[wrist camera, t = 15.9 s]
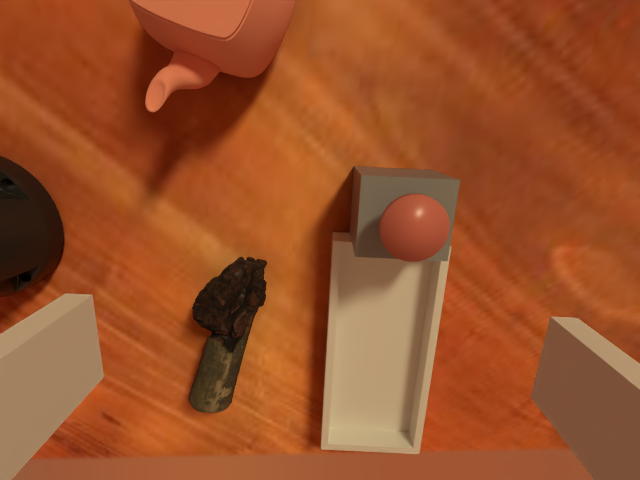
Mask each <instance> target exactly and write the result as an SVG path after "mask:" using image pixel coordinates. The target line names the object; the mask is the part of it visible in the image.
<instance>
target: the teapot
mask: <svg viewBox="0 0 640 480" xmlns="http://www.w3.org/2000/svg"><path fill="white" fill-rule="evenodd" d="M129 1H130V4H131V6H132V8H133V11H134V13H135V15H136V17H137V19H138V20H139V22H140V24H141V25H142V26H143V28H144V29H145V30H146V32H147V33H148V34H149V35H150V36H151V37H152V38H153V39H155V40H156V41H157V42H158V43H160V44H161V45H162V46H164V47H165V48H167V49H169V50H171V51H173V52H174V54H173V56H172V59H171V61H170V63H169V64H168V66H167V67H165V68H163V69H161V70H160V71H159V72H158V73H157V74H156V75H155V77H154V78H153V80H152V81H151V83H150V85H149V87H148V90H147V93H146V99H145V105H146V108H147V110H148V111H149V112H156V111H157V110H159V109H160V108H161V107H162V105H163V104H164V103H165V101H166V100H167V98H168V97H169V96H170V94H171V93H173V92H174V91H176V90H179V89H199V88H202V87H205V86H207V85H208V84H210V83H211V82H212V80H213V79H214V78H215V77H216V76H217V75H218V73H219V72H223V73H226V74H230V75H234V76H238V77H242V78H252V77H256V76H258V75H259V74H261V73H262V72H263V71H264V70H265V69H266V68H267V67H268V65H269V64H270V62H271V61H272V59H273V57H274V56H275V54H276V52H277V50H278V48H279V46H280V44H281V42H282V40H283V38H284V36H285V33H286V31H287V28H288V26H289V23H290V20H291V17H292V14H293V10H294V6H295V2H296V0H129Z"/></svg>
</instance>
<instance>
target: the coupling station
mask: <svg viewBox="0 0 640 480" xmlns="http://www.w3.org/2000/svg"><path fill="white" fill-rule="evenodd" d="M459 184H460V180H459V179H456V178H453V177H450V176H447V175H445V174H442V173H439V172H436V171H433V170H419V169H398V168H378V167H357V166H354V173H353V187H352V201H351V215H350V229H349V233H347V232H332V249H331V266H330V283H329V300H328V317H327V335H326V352H325V369H324V386H323V403H322V421H321V449H324V450H345V451H366V452H387V453H409V454H419V453H420V446H421V440H422V433H423V427H424V420H425V414H426V407H427V401H428V394H429V388H430V381H431V375H432V368H433V362H434V355H435V349H436V343H437V336H438V330H439V323H440V317H441V310H442V304H443V297H444V291H445V284H446V278H447V271H448V265H449V258H450V252H451V246H450V243H451V236H452V230H453V223H454V217H455V210H456V204H457V197H458V191H459Z"/></svg>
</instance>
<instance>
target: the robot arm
mask: <svg viewBox="0 0 640 480" xmlns="http://www.w3.org/2000/svg"><path fill="white" fill-rule="evenodd" d="M62 248H63V227H62V222H61V218H60V215H59V212H58V210H57V208H56V205H55V203H54V201H53V200H52V198H51V196H50V195H49V193H48V192H47V191H46V189H45V188H44V187H43V186H42V184H41V183H40V182H39V181H38V180H37V179H36V178H35V177H34V176H33V175H31V174H30V173H29V172H28V171H27V170H25V169H24V168H22V167H21V166H19V165H18V164H16V163H14V162H12V161H11V160H8V159H6V158H4V157H1V156H0V297H4V296H9V295H12V294H15V293H18V292H21V291H23V290H25V289H27V288H29V287H30V286H32V285H34V284H36V283H38V282H40V281H41V280H43V279H44V278H45V277H47V276H48V275H49V274H50V273H51V272H52V270H53V269H54V268H55V266H56V265H57V263H58V261H59V258H60V256H61V252H62ZM103 377H104V375H103V368H102V360H101V353H100V346H99V339H98V332H97V325H96V317H95V310H94V303H93V296H92V295H87V294H64V295H62V296H61V297H59V298H57V299H56V300H54V301H53V302H51V303H49V304H48V305H46V306H45V307H43V308H41V309H40V310H38V311H37V312H35V313H33V314H32V315H30V316H29V317H27V318H25V319H24V320H22V321H21V322H19V323H17V324H16V325H14V326H13V327H11V328H9V329H8V330H6V331H5V332H3V333H1V334H0V480H12V478H13V477H14V476H15V475H16V474H17V473H18V472H19V470H21V468H22V467H23V466H24V465H25V464H26V463H27V462H28V461H29V460H30V458H31V457H32V456H33V455H34V454H35V453H36V452H37V451H38V450H39V448H40V447H41V446H42V445H43V444H44V443H45V442H46V441H47V440H48V438H49V437H50V436H51V435H52V434H53V433H54V432H55V431H56V430H57V428H58V427H59V426H60V425H61V424H62V423H63V422H64V421H65V420H66V418H67V417H68V416H69V415H70V414H71V413H72V412H73V411H74V410H75V409H76V407H77V406H78V405H79V404H80V403H81V402H82V401H83V400H84V399H85V397H86V396H87V395H88V394H89V393H90V392H91V391H92V390H93V389H94V387H95V386H96V385H97V384H98V383H99V382H100V381H101V380H102V379H103ZM531 399H532V400H533V401H534V402H535V404H536V405H537V406H538V408H539V409H540V410H541V411H542V413H543V414H544V415H545V417H546V418H547V419H548V420H549V422H550V423H551V424H552V426H553V427H554V428H555V429H556V431H557V432H558V433H559V435H560V436H561V437H562V439H563V440H564V441H565V442H566V444H567V445H568V446H569V448H570V449H571V450H572V451H573V453H574V454H575V455H576V457H577V458H578V459H579V460H580V462H581V463H582V464H583V466H584V467H585V468H586V469H587V471H588V472H589V473H590V474H591V476H592V477H593V478H594V480H640V364H639V363H638V362H636V361H635V360H634V359H632V358H631V357H630V356H628V355H627V354H626V353H624V352H623V351H621V350H620V349H619V348H617V347H616V346H615V345H613V344H612V343H611V342H609V341H608V340H607V339H605V338H604V337H602V336H601V335H600V334H598V333H597V332H596V331H594V330H593V329H592V328H590V327H589V326H588V325H586V324H585V323H583V322H582V321H581V320H579V319H578V318H567V317H550V321H549V325H548V329H547V333H546V337H545V341H544V345H543V349H542V353H541V357H540V362H539V366H538V370H537V374H536V378H535V382H534V386H533V390H532V394H531Z"/></svg>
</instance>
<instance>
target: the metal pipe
mask: <svg viewBox="0 0 640 480" xmlns="http://www.w3.org/2000/svg"><path fill="white" fill-rule="evenodd" d="M266 264H267V262H266V261H265V260H261V259H257V260H255V259H254V258H251V257H247V260H244V258H243V257H239V258H238V259H237V260H236V261H235V262H234V263H232V264H230V265H229V266H227V267H226V268H225V269H224V270H223V271H222V273H221V275H220V276H218V277H215V278H213V279H212V280H211V281H210V282H209V283H207V284H206V286H205V287H204V289H203V290H201V291H200V293H199V294H198V296H197V298H196V299H195V302H194V304H193V308H192V309H193V310H194V311H193V317H194V320H196V321H197V323H198V325H200V326H201V327H203V328H206V329H208V330H210V331H212V334H211V336H210V337H209V338H208V339H207V341H206V344H205V348H204V351H203V355H202V358H201V361H200V365H199V369H198V371H197V374H196V377H195V380H194V382H193V385H192V388H191V391H190V394H189V401H190V403H191V405H192V407H193V408H195V409H196V410H197V411H200V412H208V413H215V412H221V411H223V410H225V409H227V408H228V407H229V405H230V404H231V403H232V397H233V393H234V389H235V385H236V381H237V377H238V373H239V370H240V366H241V362H242V358H243V354H244V351H245V347H246V344H247V340H248V336H249V333H250V330H251V326H252V323H253V320H254V317H255V314H256V312H257V311H258V308H259V307H260V306H263V305H264V302H265V299H266V295H265V291H266V281H265V280H264V268H265V266H266Z"/></svg>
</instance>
